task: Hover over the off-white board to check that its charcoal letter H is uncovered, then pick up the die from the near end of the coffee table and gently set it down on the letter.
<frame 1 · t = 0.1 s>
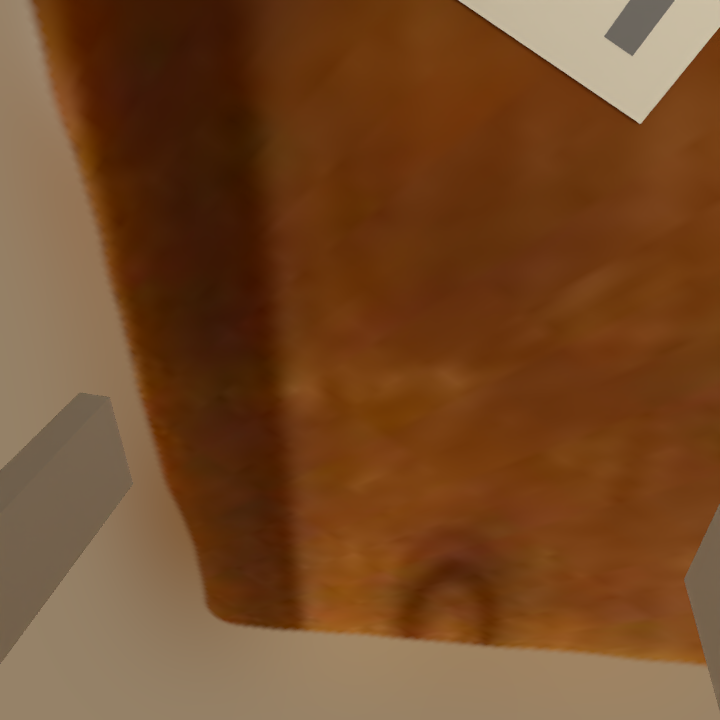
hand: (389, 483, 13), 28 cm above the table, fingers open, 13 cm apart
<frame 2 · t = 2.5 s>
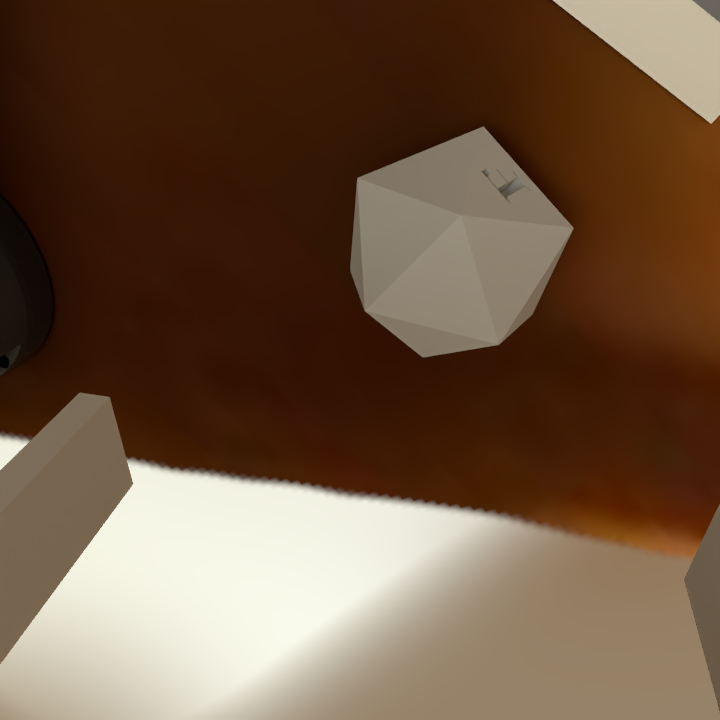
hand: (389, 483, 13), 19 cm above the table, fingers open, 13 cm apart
die: (459, 217, 29), on the table
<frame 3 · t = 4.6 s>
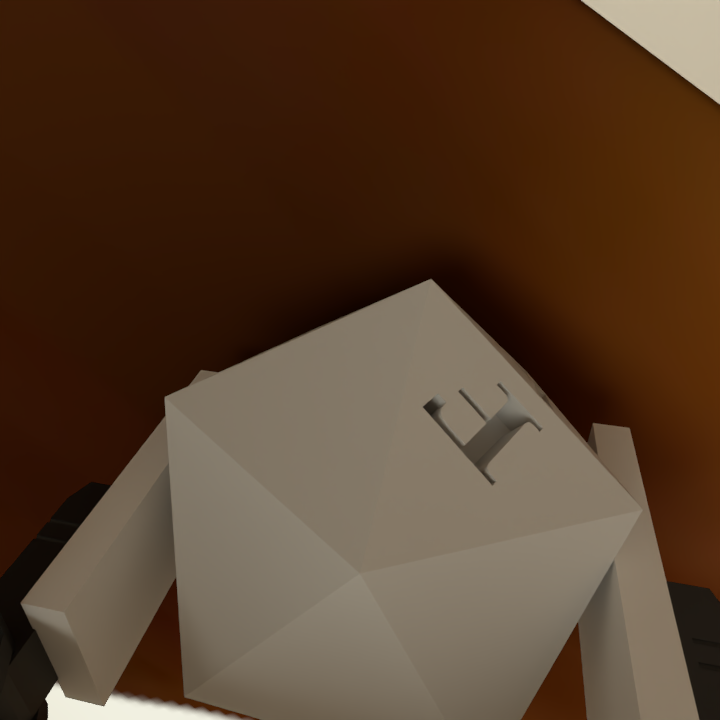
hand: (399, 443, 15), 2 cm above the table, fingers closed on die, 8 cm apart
die: (411, 392, 16), on the table, touching gripper
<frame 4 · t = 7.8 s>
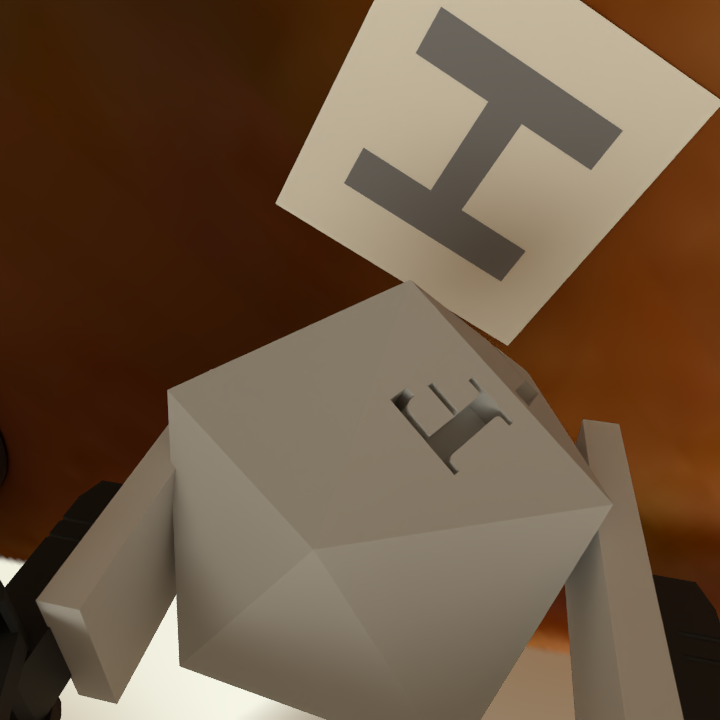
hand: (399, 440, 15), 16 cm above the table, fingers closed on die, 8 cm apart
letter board: (474, 154, 26), on the table
die: (418, 391, 17), point 13 cm above the table, touching gripper
when the fingers open (3 cm above the table, at t = 11.4 s): die stays where it is, resting on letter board.
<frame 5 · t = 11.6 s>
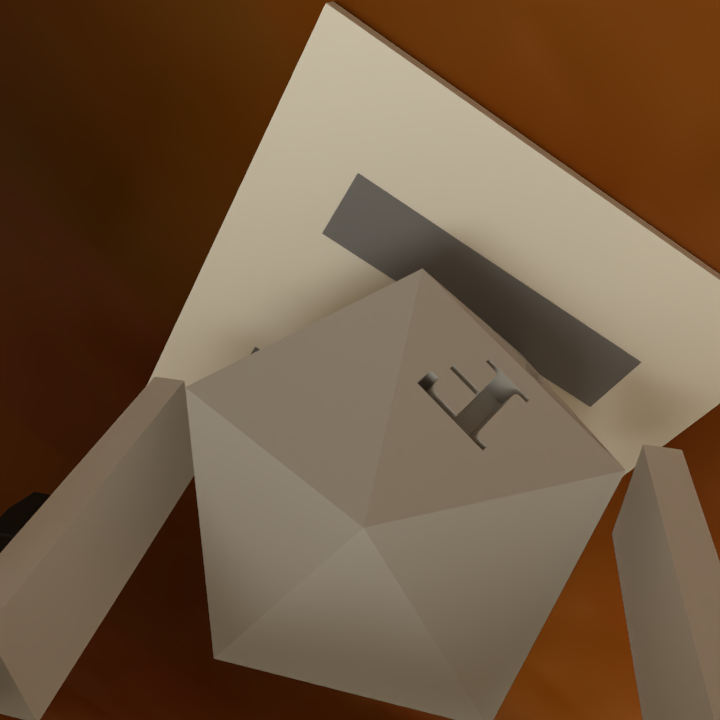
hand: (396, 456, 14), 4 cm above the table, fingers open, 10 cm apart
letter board: (419, 363, 17), on the table
die: (415, 379, 17), resting on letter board
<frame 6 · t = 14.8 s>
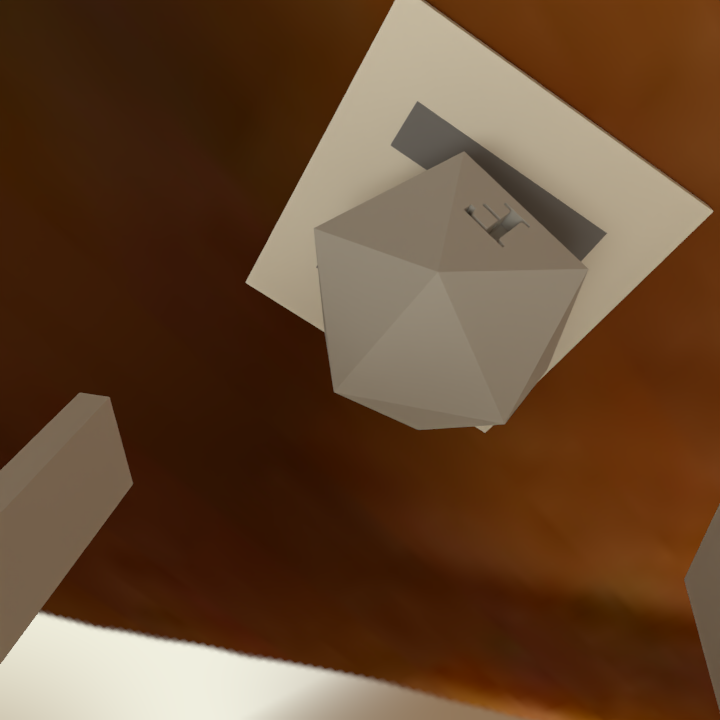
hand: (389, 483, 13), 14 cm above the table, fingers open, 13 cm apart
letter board: (452, 245, 25), on the table
die: (450, 255, 24), resting on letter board
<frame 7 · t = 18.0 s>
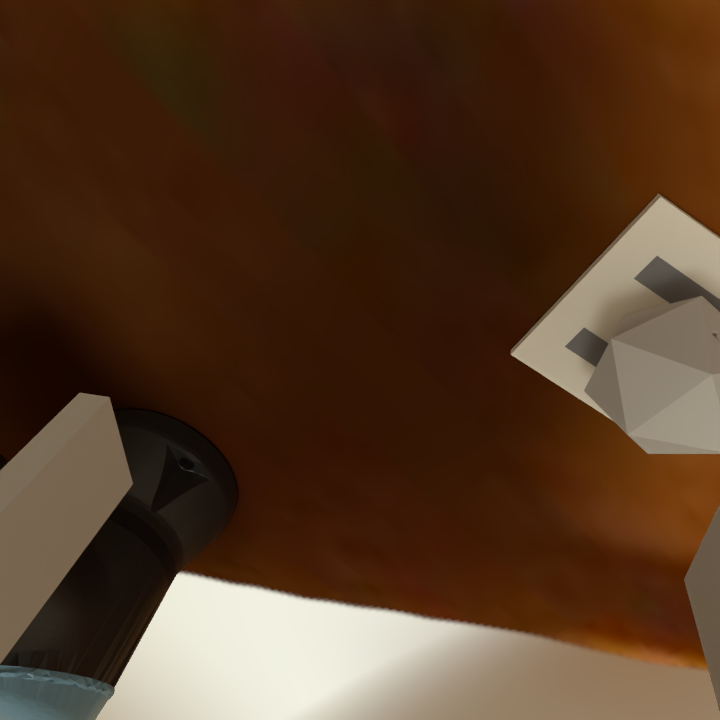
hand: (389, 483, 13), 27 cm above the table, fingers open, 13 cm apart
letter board: (659, 334, 38), on the table
die: (659, 341, 38), resting on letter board
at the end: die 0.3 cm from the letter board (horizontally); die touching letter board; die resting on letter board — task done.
